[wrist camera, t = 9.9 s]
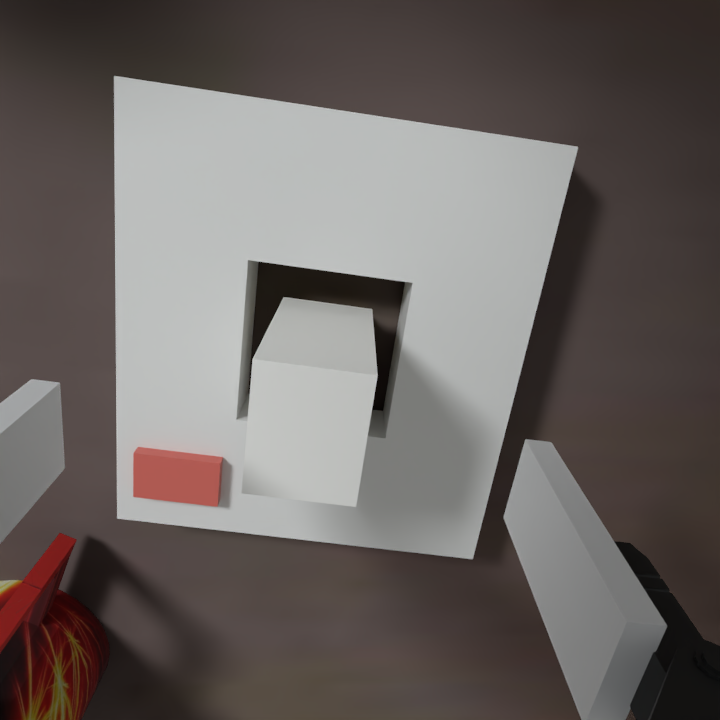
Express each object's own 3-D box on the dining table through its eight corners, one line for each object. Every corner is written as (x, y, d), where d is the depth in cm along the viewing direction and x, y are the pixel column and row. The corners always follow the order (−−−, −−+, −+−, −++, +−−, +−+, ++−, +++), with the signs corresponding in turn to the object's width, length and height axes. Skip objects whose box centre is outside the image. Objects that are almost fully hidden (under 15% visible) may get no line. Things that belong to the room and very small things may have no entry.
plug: (288, 286, 28) (252, 359, 18) (371, 298, 28) (377, 375, 18) (279, 382, 29) (241, 493, 20) (357, 392, 29) (355, 506, 20)
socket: (142, 83, 24) (107, 73, 21) (554, 146, 25) (584, 146, 22) (138, 485, 31) (112, 525, 28) (462, 523, 32) (474, 567, 29)
